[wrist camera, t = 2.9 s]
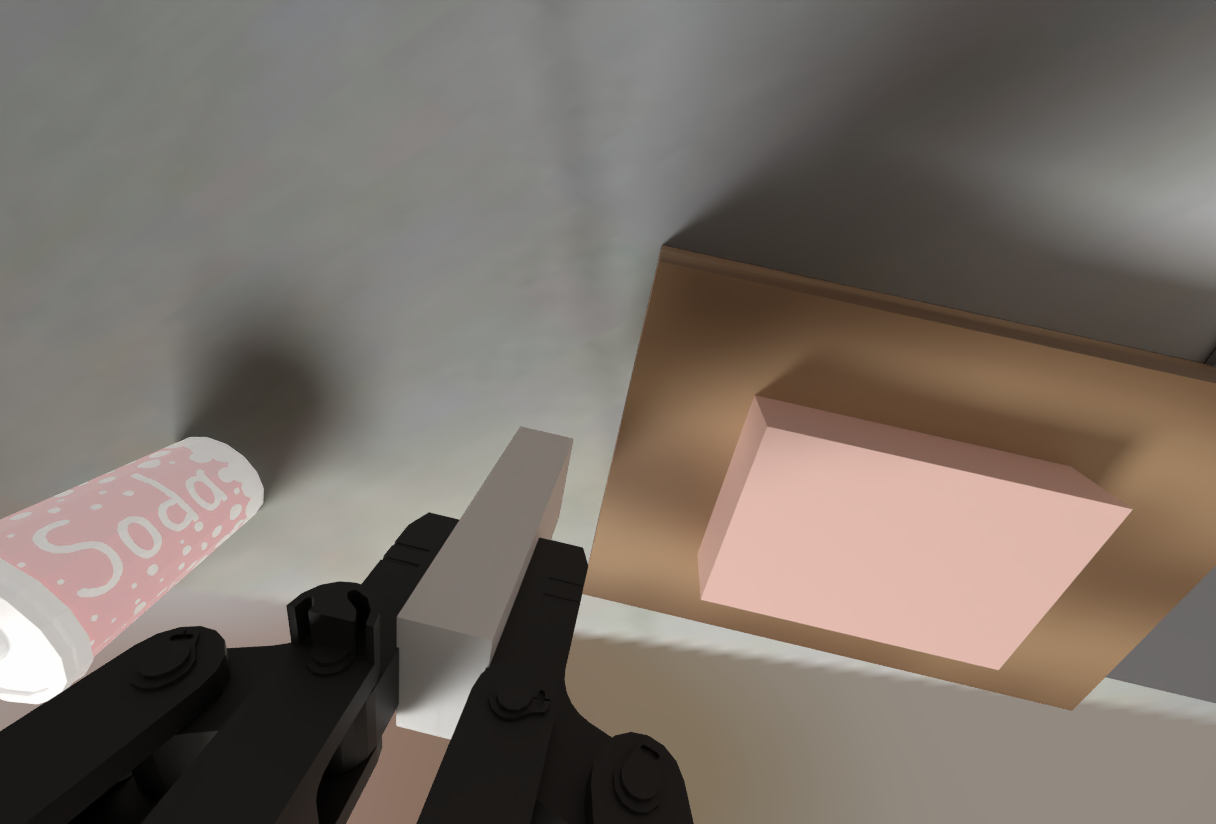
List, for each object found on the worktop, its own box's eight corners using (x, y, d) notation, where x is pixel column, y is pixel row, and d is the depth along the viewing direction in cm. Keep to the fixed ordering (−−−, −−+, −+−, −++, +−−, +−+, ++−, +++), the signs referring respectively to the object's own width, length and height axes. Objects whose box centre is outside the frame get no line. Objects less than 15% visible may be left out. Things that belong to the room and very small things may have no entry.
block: (754, 395, 14) (767, 426, 12) (1070, 466, 13) (1133, 509, 12) (697, 554, 16) (700, 599, 14) (961, 616, 16) (998, 670, 14)
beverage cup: (302, 523, 23) (-134, 915, 11) (202, 538, 25) (-292, 904, 12) (234, 410, 21) (-425, 741, 8) (128, 433, 22) (-582, 750, 10)
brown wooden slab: (661, 245, 16) (658, 261, 12) (1203, 363, 16) (1364, 416, 12) (597, 525, 21) (581, 593, 18) (1002, 620, 21) (1071, 710, 17)
